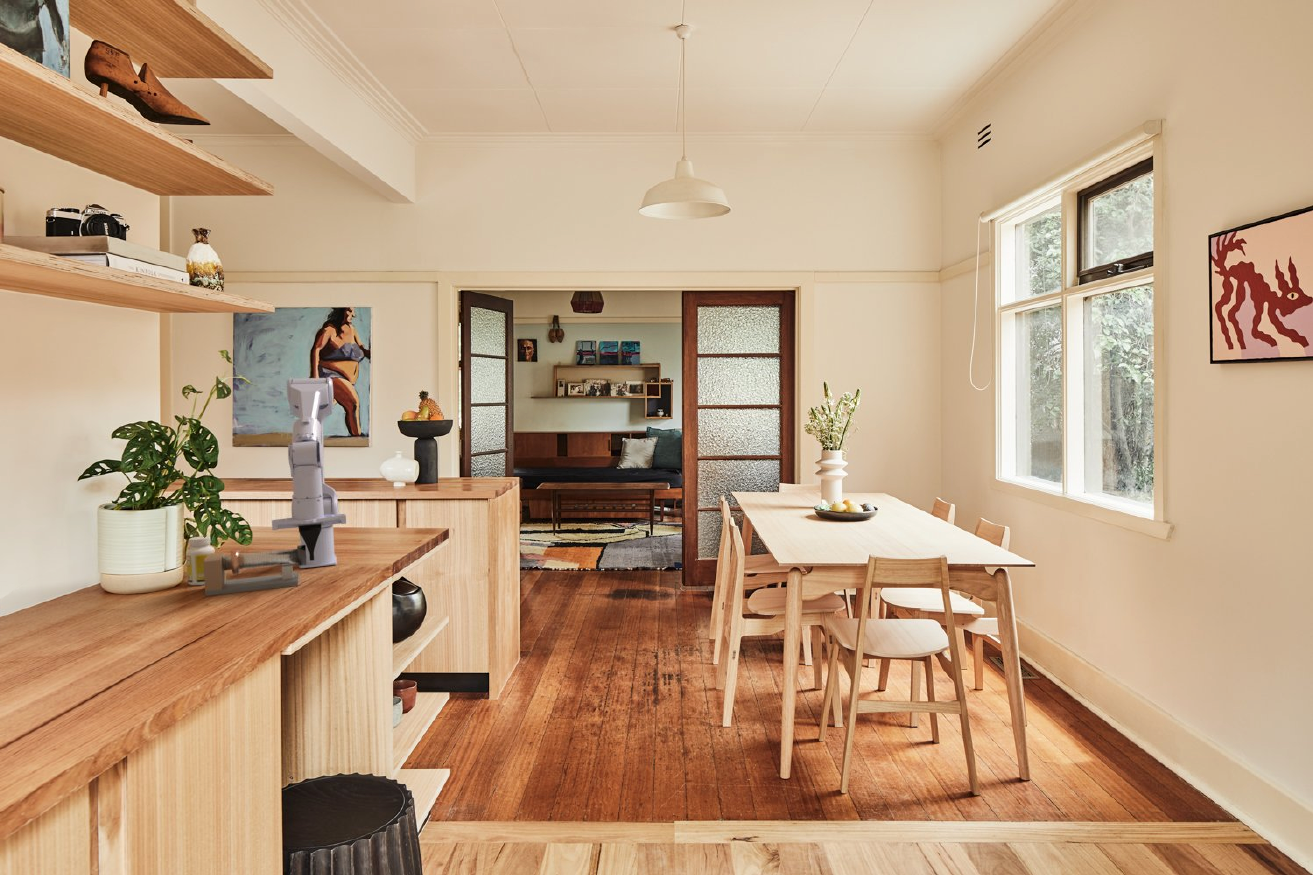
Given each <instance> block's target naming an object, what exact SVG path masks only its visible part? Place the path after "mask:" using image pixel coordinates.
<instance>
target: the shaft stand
mask: <svg viewBox="0 0 1313 875" xmlns="http://www.w3.org/2000/svg"><path fill="white" fill-rule="evenodd" d="M223 556H226V554H225V552H218V553H217V552H215V553H214V554H208V555H207V557H206V558H205V560H204V562H203V565H204V580H205V585H204V593H205V597H209V596H217V595H218V596H219V595H226V594H227V595H228V594H237V593H245V592H254V591H262V590H270V589H279V588H281V589H282V588H288V587H298V586H299V580H300V574H299V572H294V569H293V567H294V566H293V564H294V563H293V564H283V565H281V574H275V575H264V576H255V577H247V578H246V577H244V578H235V579H227V572H226V571H227V570H225V571H224V569H223Z"/></svg>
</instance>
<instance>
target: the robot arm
mask: <svg viewBox="0 0 1313 875" xmlns="http://www.w3.org/2000/svg"><path fill="white" fill-rule="evenodd" d="M286 395H287V401H288V405H289V410H290V411H291V415H292V416H293V417H297V419H296V420H295V421H294V423H293V425H292V437H291V444H288V447H287V459H288V465H289V468H290V477H291V478H292V491H293V492H292V493H293V494H291V495H292V496H291V498H292V499H291V500H292V501H291V507H290V508H291V510H290V511H291V517H286V518H279V519H278V518H277V519H272V520H271V528H272V529H271V530H272V531H277V530H282V529H283V530H284V529H286V530H287V529H294V528H295V529H296V528H297V529H298V532H299V533H298V534H299V541H300V542H299V545H306V561H307V565H305V566H298V567H299V569H305V568H315V567H316V568H317V567H324V566H325V567H326V566H335V565H338V559H337V554H335V540H334V525H340V524H341V525H346V524H347V515H346V513H339V501H338V493H337V491H336V489H334V488H333V487H332V486H329V485H328V484H327V483H325V460H324V458H325V456H324V455H325V454H324V424H325V421H326V418H328V417H329V416H331V415H333V410H334V384H333V378H331V377H330V376H328V377H317V378H316V377H315V378H314V377H311V378H303V377H302V378H293V377H289V378H288V379H287V380H286Z"/></svg>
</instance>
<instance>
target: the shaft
mask: <svg viewBox="0 0 1313 875" xmlns="http://www.w3.org/2000/svg"><path fill="white" fill-rule="evenodd" d="M296 547H297V548H293V549H283V550H273V551H261V552H251V553H243V554H240V549H233V550H231V552H230V555H225V556H223V569H224V571H225V570H226V571H231V574H232V575H240V574H241V570H243V569H254V568H263V567H273V566H282V565H284V564H297V565H298V567H299V566H305V565H307V561H306V545H300V544H299V545H297V546H296Z"/></svg>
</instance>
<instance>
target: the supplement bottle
mask: <svg viewBox="0 0 1313 875" xmlns="http://www.w3.org/2000/svg"><path fill="white" fill-rule="evenodd" d="M203 536H204V535H202V537H201V536H193V537H190V538H189V539H188V545H189V546H190V548H188V549H187V550H186V552H185V553H186V554H185V555H186V571H187V582H188V585H190V586H203V585H204V586H205V580H204V565H203V562H204V560H205V558H206V557H207V555H208V554H214V553H216V550H215V548H214V547H213V546H212V545H211V543H212V542H211V536H208V535H205V536H206V537H205V538H204V537H203Z"/></svg>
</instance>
